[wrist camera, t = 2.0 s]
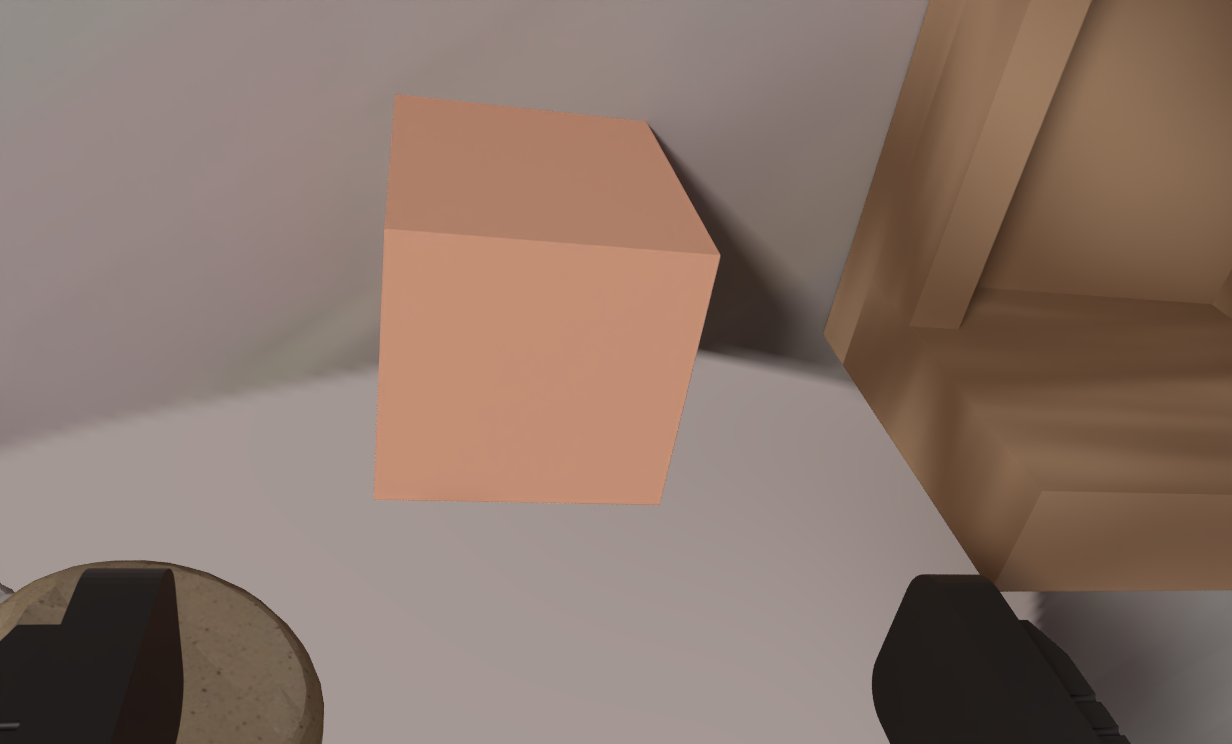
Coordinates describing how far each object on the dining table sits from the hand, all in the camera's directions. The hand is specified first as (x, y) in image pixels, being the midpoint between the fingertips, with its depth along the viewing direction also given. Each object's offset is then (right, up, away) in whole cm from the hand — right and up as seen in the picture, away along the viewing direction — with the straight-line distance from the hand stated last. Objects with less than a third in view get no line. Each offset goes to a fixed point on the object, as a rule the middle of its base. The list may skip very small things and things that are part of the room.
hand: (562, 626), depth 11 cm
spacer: (-1, +6, +8) cm, 10 cm away
